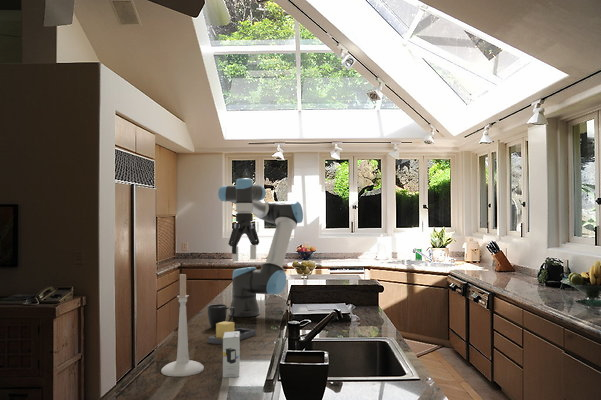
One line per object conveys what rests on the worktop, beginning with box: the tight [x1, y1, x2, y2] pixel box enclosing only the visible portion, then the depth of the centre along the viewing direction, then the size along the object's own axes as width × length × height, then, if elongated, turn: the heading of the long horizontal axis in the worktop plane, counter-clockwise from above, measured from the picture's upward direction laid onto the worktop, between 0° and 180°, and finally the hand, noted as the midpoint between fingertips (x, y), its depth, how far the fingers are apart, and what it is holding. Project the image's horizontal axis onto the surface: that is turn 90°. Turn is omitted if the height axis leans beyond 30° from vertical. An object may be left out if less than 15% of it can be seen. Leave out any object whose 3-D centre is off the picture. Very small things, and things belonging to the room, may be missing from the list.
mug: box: [207, 303, 235, 330], centre depth 222 cm, size 8×12×10 cm
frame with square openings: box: [207, 327, 257, 346], centre depth 201 cm, size 20×8×2 cm, turn 150°
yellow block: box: [215, 320, 235, 338], centre depth 197 cm, size 5×5×7 cm
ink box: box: [222, 331, 241, 378], centre depth 155 cm, size 9×5×12 cm, turn 5°
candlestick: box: [160, 273, 205, 377], centre depth 159 cm, size 13×13×30 cm
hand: (244, 260), depth 228 cm, fingers open, 13 cm apart
